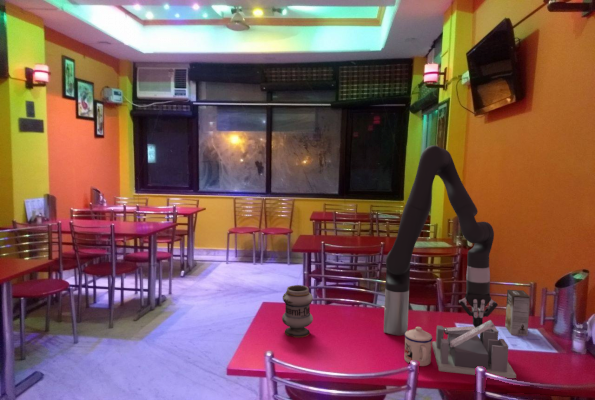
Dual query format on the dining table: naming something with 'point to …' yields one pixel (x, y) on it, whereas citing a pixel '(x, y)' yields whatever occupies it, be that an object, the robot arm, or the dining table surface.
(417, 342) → the teacup with lid
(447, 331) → the grey hinged latch bar
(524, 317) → the coffee box
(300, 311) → the apothecary jar
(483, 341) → the base
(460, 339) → the strap
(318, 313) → the dining table surface
